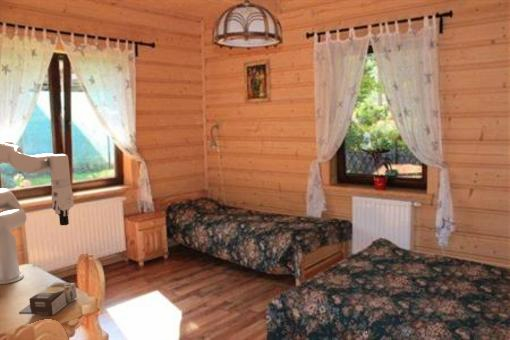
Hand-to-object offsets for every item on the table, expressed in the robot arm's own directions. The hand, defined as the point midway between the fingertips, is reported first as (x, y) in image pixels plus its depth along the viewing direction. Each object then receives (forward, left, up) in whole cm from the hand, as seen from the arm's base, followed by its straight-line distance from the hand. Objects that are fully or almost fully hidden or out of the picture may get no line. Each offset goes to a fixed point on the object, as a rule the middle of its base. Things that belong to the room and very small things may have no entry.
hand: (64, 224), depth 195 cm
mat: (+1, -23, -26) cm, 35 cm away
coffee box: (+7, -16, -23) cm, 29 cm away
